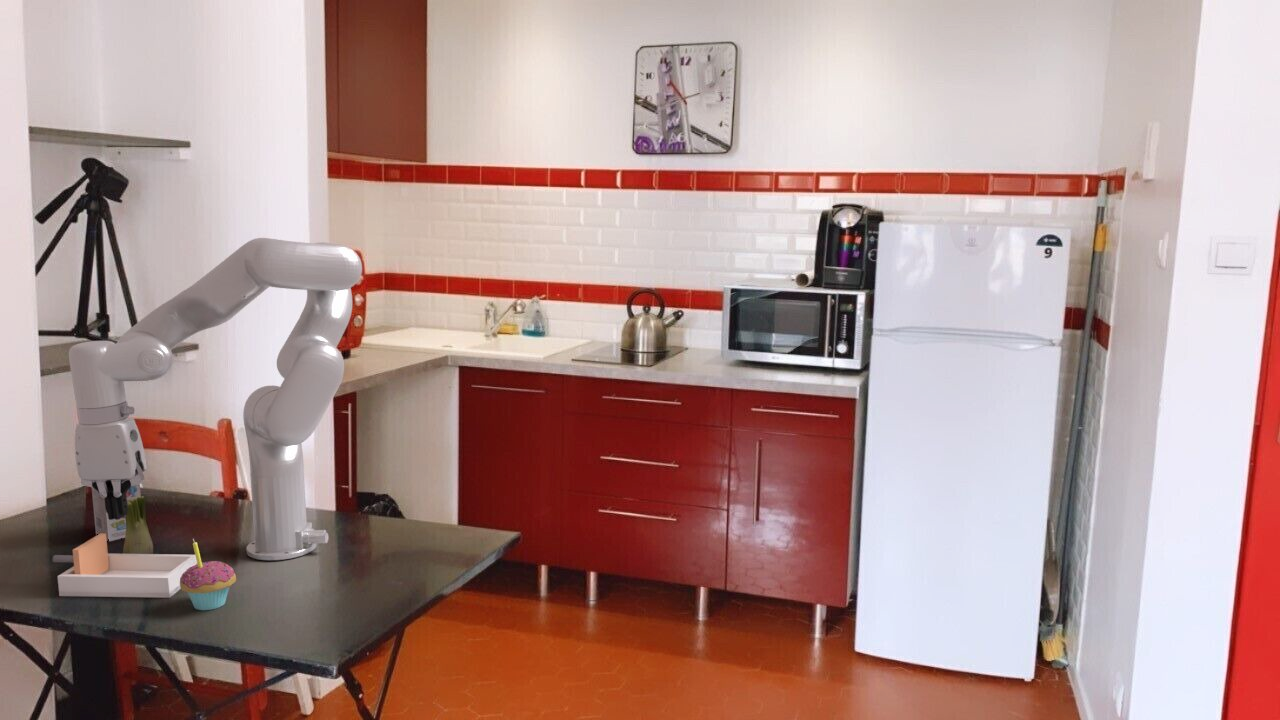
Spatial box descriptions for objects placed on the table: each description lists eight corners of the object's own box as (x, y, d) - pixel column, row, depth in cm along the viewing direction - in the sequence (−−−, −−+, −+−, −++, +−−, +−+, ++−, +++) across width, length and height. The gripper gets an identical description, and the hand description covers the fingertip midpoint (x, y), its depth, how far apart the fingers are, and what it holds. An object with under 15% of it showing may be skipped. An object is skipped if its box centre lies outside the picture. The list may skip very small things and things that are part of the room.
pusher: (109, 568, 181) (105, 533, 180) (81, 587, 173) (78, 550, 172) (70, 568, 182) (67, 532, 180) (41, 586, 173) (37, 549, 172)
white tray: (200, 573, 182) (198, 554, 182) (169, 597, 171) (168, 577, 171) (96, 571, 183) (94, 553, 182) (59, 595, 172) (57, 576, 171)
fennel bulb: (145, 554, 192) (140, 493, 190) (162, 559, 189) (157, 496, 187) (116, 564, 187) (111, 501, 185) (133, 568, 184) (127, 505, 182)
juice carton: (95, 533, 203) (86, 426, 200) (130, 525, 208) (121, 420, 204) (108, 541, 199) (98, 431, 195) (143, 533, 204) (134, 426, 200)
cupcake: (202, 619, 163) (197, 547, 161) (170, 607, 167) (164, 538, 165) (248, 601, 170) (243, 532, 168) (216, 590, 174) (211, 523, 172)
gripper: (157, 407, 176) (171, 508, 179) (73, 410, 176) (88, 510, 180) (134, 418, 168) (149, 523, 172) (46, 421, 169) (63, 525, 173)
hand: (118, 516), depth 176 cm, fingers closed
